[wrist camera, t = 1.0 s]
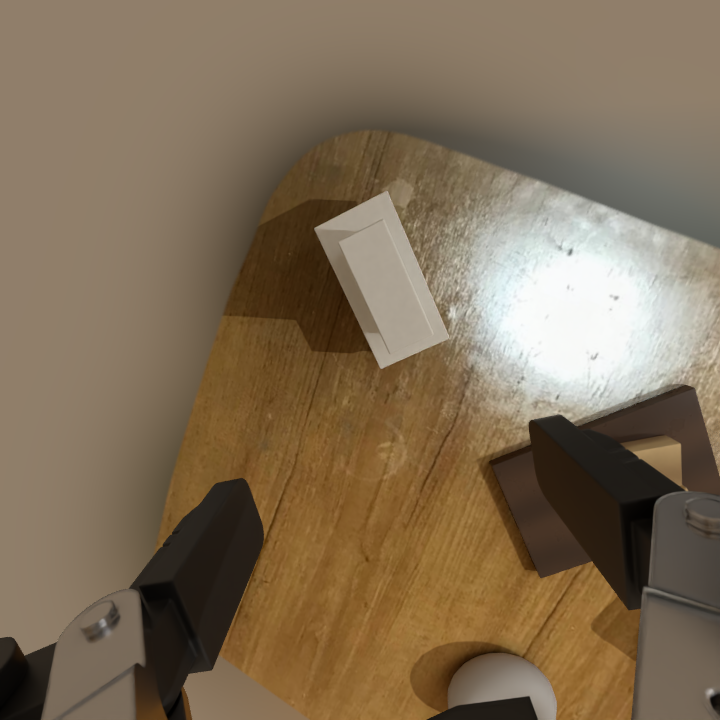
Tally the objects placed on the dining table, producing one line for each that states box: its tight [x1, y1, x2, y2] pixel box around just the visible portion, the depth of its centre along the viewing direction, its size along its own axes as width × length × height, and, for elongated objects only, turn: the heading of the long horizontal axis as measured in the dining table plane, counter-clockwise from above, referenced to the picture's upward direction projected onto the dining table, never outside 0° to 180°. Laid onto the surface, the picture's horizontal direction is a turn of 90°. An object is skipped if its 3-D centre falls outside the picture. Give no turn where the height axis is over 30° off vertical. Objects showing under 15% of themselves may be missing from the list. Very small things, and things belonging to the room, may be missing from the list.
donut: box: [448, 653, 557, 720], centre depth 34 cm, size 10×3×10 cm
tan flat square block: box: [620, 435, 682, 486], centre depth 28 cm, size 4×4×2 cm
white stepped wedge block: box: [314, 191, 449, 369], centre depth 22 cm, size 5×10×10 cm, turn 25°
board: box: [490, 385, 720, 578], centre depth 30 cm, size 12×16×1 cm
